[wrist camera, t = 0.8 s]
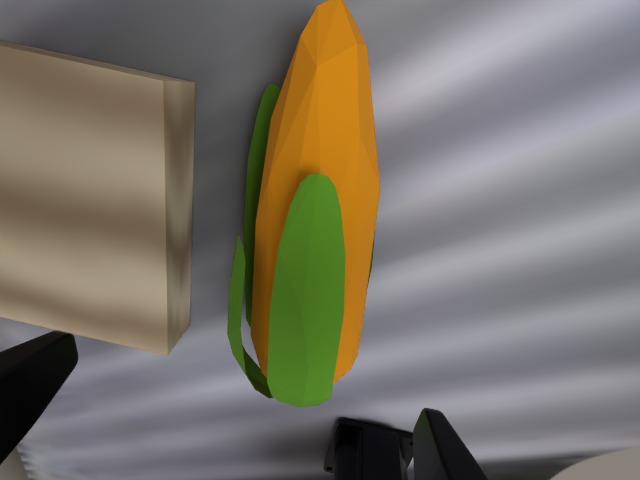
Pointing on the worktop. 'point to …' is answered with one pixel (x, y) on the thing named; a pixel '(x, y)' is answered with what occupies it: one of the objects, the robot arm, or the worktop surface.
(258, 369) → the corn
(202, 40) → the worktop surface
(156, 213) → the birch base
